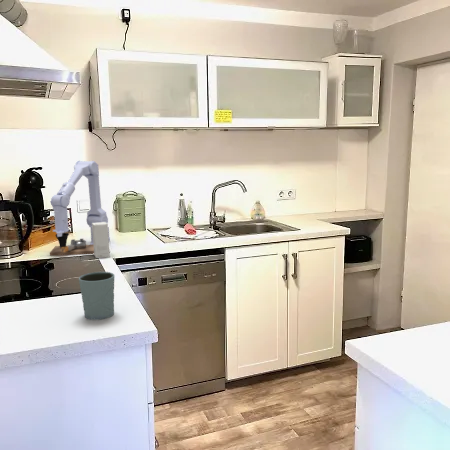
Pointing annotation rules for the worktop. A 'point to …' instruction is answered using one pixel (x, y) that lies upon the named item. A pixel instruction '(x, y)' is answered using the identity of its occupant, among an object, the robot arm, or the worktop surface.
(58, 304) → the worktop surface
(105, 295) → the grey-green cup
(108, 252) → the skincare box
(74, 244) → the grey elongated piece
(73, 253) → the walnut board
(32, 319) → the worktop surface
